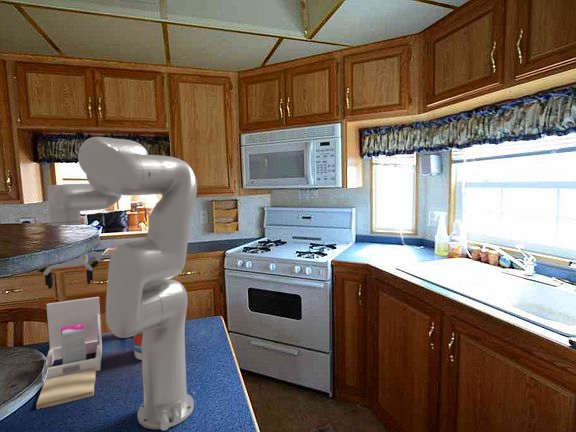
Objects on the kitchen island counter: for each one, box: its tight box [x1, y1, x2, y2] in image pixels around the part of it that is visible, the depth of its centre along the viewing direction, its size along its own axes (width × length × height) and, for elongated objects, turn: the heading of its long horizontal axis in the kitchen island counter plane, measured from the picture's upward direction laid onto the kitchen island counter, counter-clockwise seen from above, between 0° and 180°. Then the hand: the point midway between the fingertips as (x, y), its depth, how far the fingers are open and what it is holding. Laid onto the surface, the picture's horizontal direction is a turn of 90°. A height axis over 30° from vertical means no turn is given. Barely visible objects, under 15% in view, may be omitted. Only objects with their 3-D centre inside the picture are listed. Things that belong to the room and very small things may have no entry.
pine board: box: [35, 369, 97, 410], centre depth 91 cm, size 12×12×1 cm
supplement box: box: [61, 324, 87, 365], centre depth 103 cm, size 6×6×12 cm
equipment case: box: [45, 296, 103, 379], centre depth 103 cm, size 16×14×18 cm
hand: (70, 285), depth 102 cm, fingers open, 9 cm apart
